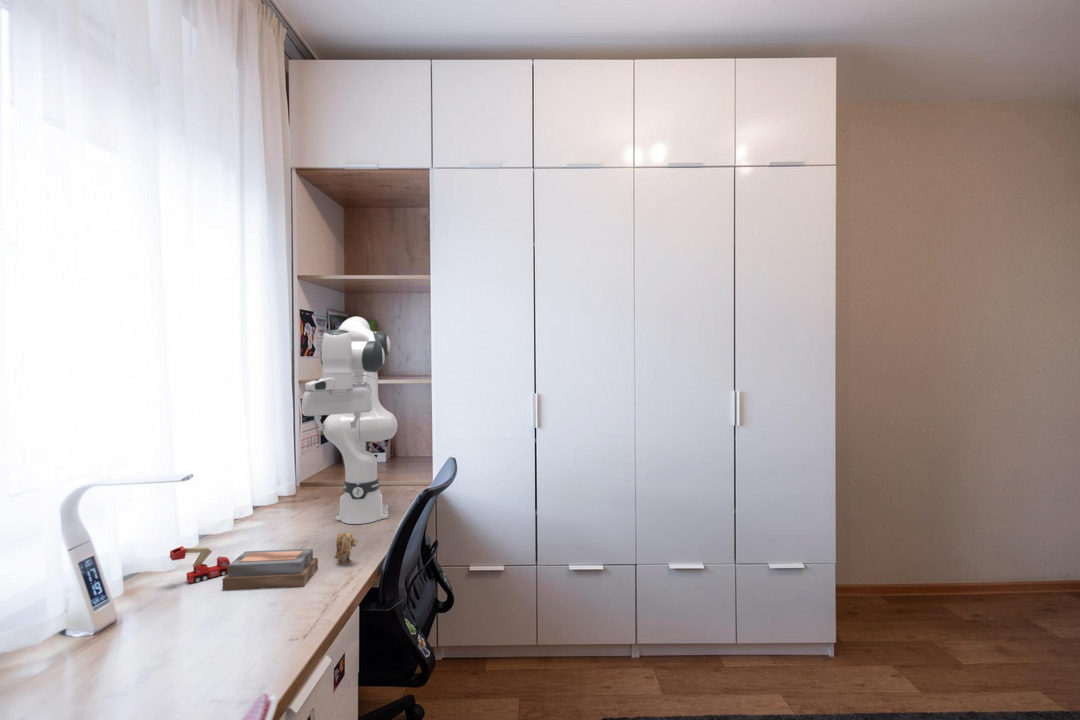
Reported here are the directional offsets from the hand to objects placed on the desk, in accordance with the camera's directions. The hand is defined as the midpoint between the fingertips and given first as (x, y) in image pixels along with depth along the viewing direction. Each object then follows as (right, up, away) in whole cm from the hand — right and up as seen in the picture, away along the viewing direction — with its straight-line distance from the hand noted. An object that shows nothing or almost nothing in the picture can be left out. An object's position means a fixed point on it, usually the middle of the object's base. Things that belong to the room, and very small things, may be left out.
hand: (338, 429), depth 166 cm
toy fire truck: (-30, -38, -18) cm, 52 cm away
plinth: (-11, -38, -18) cm, 43 cm away
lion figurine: (+4, -38, -5) cm, 38 cm away
